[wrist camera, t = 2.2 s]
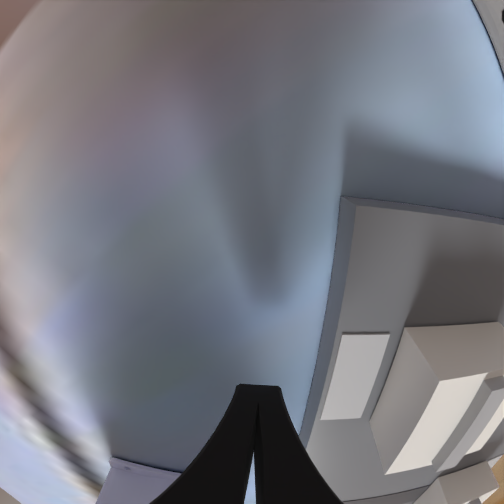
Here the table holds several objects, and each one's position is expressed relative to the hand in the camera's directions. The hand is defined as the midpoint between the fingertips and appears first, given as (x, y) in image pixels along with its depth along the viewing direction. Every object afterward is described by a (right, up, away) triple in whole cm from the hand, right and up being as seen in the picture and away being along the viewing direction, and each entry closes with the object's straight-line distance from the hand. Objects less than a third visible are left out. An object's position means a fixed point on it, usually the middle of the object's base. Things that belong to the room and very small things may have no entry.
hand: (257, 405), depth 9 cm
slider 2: (+15, -13, +5) cm, 20 cm away
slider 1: (+8, 0, +1) cm, 8 cm away
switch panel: (+11, -6, +5) cm, 14 cm away
